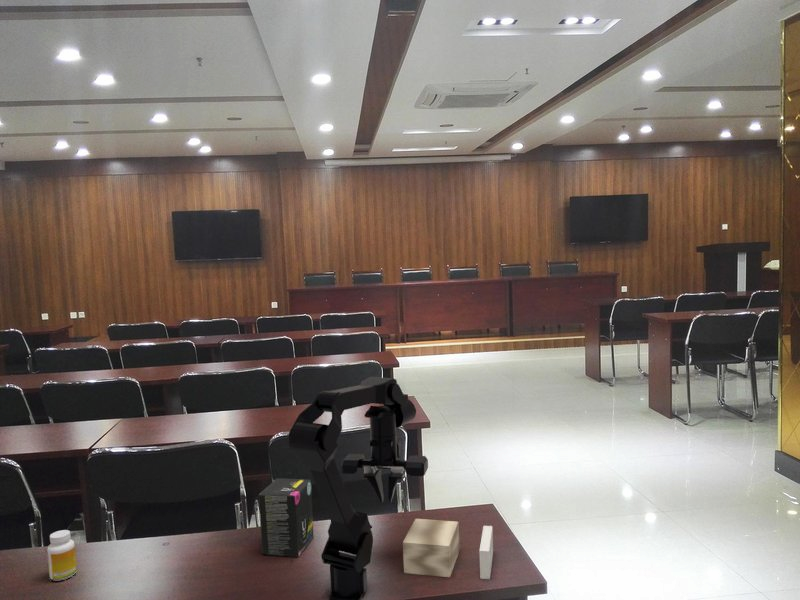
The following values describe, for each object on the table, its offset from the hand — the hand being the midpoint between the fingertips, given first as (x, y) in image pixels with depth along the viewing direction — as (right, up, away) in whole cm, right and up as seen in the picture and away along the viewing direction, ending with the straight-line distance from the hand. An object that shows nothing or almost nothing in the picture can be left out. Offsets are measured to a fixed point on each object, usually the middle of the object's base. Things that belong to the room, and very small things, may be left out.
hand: (386, 502), depth 138 cm
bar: (+22, -12, -4) cm, 26 cm away
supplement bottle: (-71, -16, -1) cm, 73 cm away
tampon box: (-23, -14, +9) cm, 28 cm away
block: (+10, -13, -1) cm, 17 cm away
